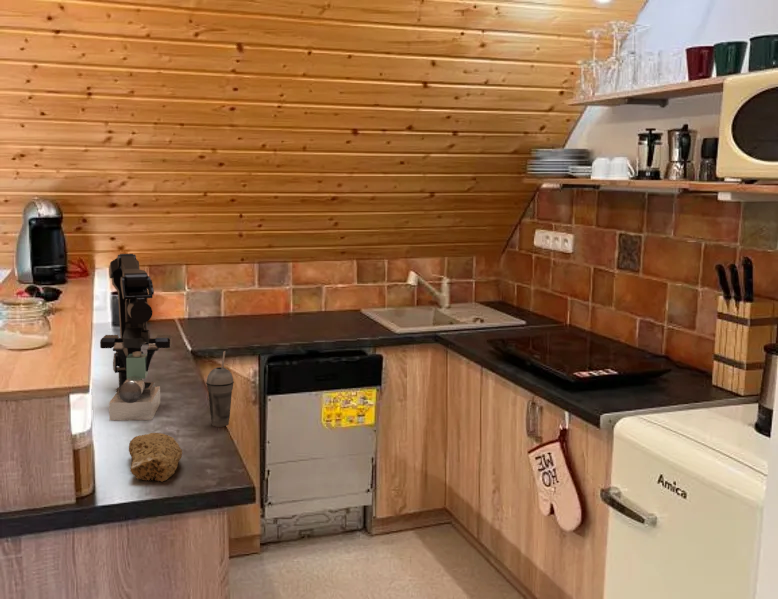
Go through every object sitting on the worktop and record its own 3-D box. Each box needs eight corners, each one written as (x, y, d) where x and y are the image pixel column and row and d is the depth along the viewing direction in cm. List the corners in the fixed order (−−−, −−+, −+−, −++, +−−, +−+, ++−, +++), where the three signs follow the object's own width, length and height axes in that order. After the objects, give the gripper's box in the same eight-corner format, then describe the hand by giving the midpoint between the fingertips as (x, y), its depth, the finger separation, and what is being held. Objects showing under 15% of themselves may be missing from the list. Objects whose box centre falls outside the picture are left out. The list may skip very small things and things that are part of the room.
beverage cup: (204, 421, 207) (203, 349, 204) (230, 419, 210) (230, 347, 207) (209, 429, 200) (208, 355, 198) (236, 426, 203) (236, 353, 200)
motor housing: (121, 403, 221) (120, 367, 220) (160, 403, 223) (159, 367, 221) (109, 420, 205) (108, 382, 204) (151, 420, 207) (151, 381, 206)
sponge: (179, 488, 165) (191, 440, 184) (170, 457, 163) (184, 411, 181) (118, 499, 165) (137, 449, 183) (108, 468, 162) (128, 421, 180)
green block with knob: (129, 374, 218) (129, 350, 217) (148, 374, 219) (147, 350, 218) (126, 378, 214) (126, 354, 213) (145, 378, 214) (144, 354, 213)
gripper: (94, 322, 205) (96, 378, 207) (166, 322, 207) (167, 378, 210) (103, 315, 215) (105, 368, 218) (172, 315, 218) (172, 368, 221)
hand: (137, 371), depth 216 cm, fingers closed on green block with knob, 5 cm apart
